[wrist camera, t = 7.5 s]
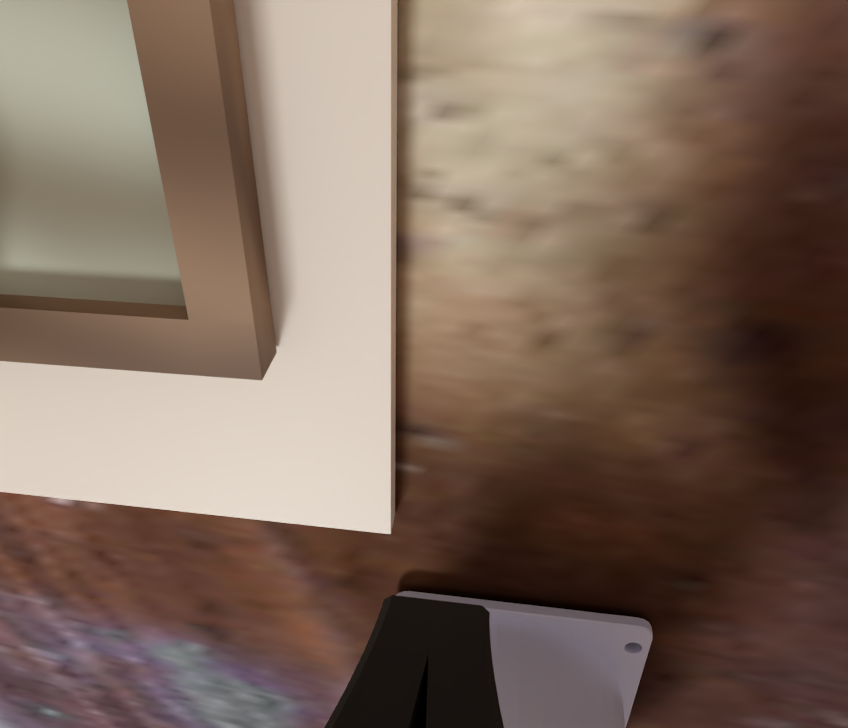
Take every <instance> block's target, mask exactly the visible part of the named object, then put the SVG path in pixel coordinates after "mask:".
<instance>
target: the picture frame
mask: <svg viewBox="0 0 848 728" xmlns="http://www.w3.org/2000/svg"><path fill="white" fill-rule="evenodd" d="M276 353H277V351H276V343H275V335H274V326H273V318H272V310H271V302H270V294H269V286H268V278H267V270H266V262H265V253H264V245H263V237H262V229H261V221H260V213H259V205H258V197H257V188H256V180H255V172H254V164H253V156H252V148H251V140H250V132H249V124H248V115H247V107H246V99H245V91H244V83H243V75H242V67H241V59H240V51H239V42H238V34H237V26H236V18H235V10H234V2H233V0H0V361H7V362H20V363H34V364H47V365H61V366H74V367H88V368H101V369H115V370H128V371H142V372H155V373H169V374H182V375H196V376H209V377H223V378H236V379H250V380H263V378H264V376H265V374H266V372H267V370H268V368H269V366H270V364H271V362H272V361H273V359H274V357H275V355H276Z"/></svg>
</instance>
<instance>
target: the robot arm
mask: <svg viewBox="0 0 848 728" xmlns="http://www.w3.org/2000/svg"><path fill="white" fill-rule="evenodd" d="M652 639H653V633H652V627H651V625H650V623H649V622H648V621H646V620H645V619H642V618H638V617H630V616H622V615H613V614H604V613H596V612H587V611H578V610H570V609H561V608H552V607H544V606H535V605H526V604H518V603H509V602H500V601H492V600H483V599H474V598H466V597H457V596H448V595H440V594H431V593H422V592H414V591H403V592H400V593H398V594H396V595H392V596H390V597H388V598H386V599H385V600H384V602H383V605H382V608H381V611H380V614H379V617H378V619H377V622H376V624H375V627H374V629H373V632H372V634H371V637H370V639H369V641H368V644H367V646H366V648H365V650H364V652H363V655H362V657H361V659H360V661H359V663H358V665H357V667H356V669H355V671H354V673H353V675H352V677H351V679H350V681H349V683H348V685H347V687H346V689H345V691H344V693H343V695H342V697H341V699H340V701H339V702H338V704H337V706H336V708H335V710H334V711H333V713H332V715H331V717H330V719H329V721H328V722H327V724H326V726H325V728H626V725H627V722H628V719H629V716H630V712H631V709H632V706H633V702H634V699H635V696H636V692H637V689H638V686H639V682H640V679H641V676H642V672H643V669H644V666H645V662H646V659H647V656H648V652H649V649H650V646H651V642H652Z"/></svg>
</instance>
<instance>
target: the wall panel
mask: <svg viewBox="0 0 848 728" xmlns="http://www.w3.org/2000/svg"><path fill="white" fill-rule="evenodd" d="M233 2H234V10H235V18H236V26H237V34H238V42H239V51H240V59H241V67H242V75H243V83H244V91H245V99H246V107H247V115H248V124H249V132H250V140H251V148H252V156H253V164H254V172H255V180H256V188H257V197H258V205H259V213H260V221H261V229H262V237H263V245H264V253H265V262H266V270H267V278H268V286H269V294H270V302H271V310H272V318H273V326H274V335H275V343H276V351H277V353H276V355H275V357H274V359H273V361H272V362H271V364H270V366H269V368H268V370H267V372H266V374H265V376H264V378H263V380H250V379H236V378H223V377H209V376H196V375H182V374H169V373H155V372H142V371H128V370H115V369H101V368H88V367H74V366H61V365H47V364H34V363H20V362H7V361H0V492H8V493H18V494H27V495H36V496H45V497H54V498H63V499H73V500H82V501H91V502H100V503H109V504H118V505H128V506H137V507H146V508H155V509H164V510H173V511H182V512H192V513H201V514H210V515H219V516H228V517H237V518H247V519H256V520H265V521H274V522H283V523H292V524H302V525H311V526H320V527H329V528H338V529H347V530H357V531H366V532H375V533H384V534H391V531H392V526H393V521H394V517H395V422H396V224H397V27H398V0H233Z"/></svg>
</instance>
